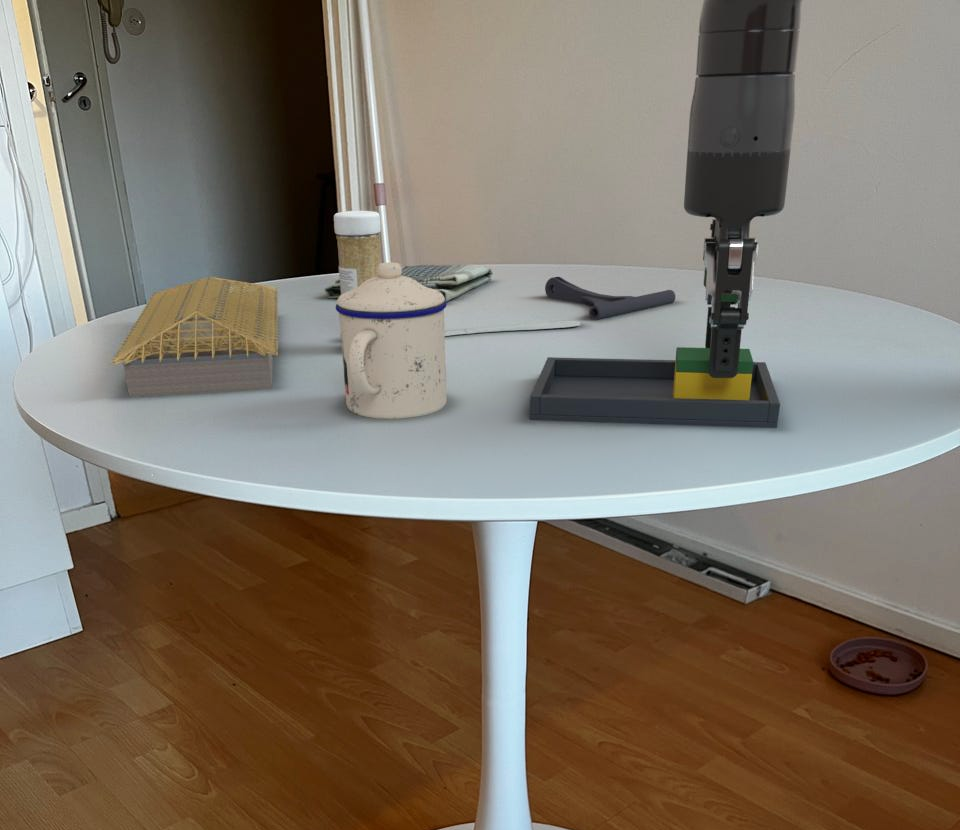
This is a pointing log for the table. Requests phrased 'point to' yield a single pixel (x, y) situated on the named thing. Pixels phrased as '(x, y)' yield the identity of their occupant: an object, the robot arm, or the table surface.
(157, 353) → the rafter model
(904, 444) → the table surface
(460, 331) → the butter knife
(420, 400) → the teacup with lid
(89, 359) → the table surface
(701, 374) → the sponge
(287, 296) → the table surface
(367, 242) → the sprinkles bottle
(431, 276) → the dish towel
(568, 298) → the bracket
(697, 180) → the robot arm
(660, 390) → the tray
